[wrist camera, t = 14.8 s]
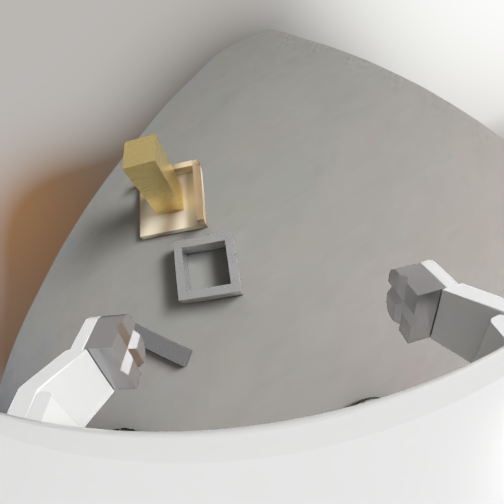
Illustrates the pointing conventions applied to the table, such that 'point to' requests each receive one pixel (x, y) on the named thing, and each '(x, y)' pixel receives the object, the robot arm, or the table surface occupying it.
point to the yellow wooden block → (153, 174)
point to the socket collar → (203, 245)
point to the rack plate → (178, 220)
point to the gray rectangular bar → (164, 346)
